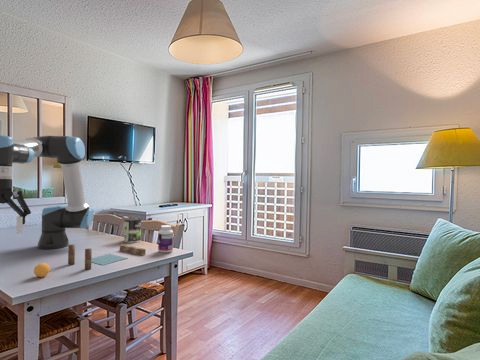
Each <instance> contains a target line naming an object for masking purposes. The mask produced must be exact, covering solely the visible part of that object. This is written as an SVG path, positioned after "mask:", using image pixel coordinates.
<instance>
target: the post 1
mask: <svg viewBox="0 0 480 360" xmlns="http://www.w3.org/2000/svg"><path fill="white" fill-rule="evenodd" d="M67 247H68V250H67V251H68V252H67V257H68V258H67V265H68V266H72V265H75V258H76V257H75V256H76V254H75V253H76V251H75V250H76V244H69V245H68V246H67Z"/></svg>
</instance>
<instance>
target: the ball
mask: <svg viewBox="0 0 480 360" xmlns="http://www.w3.org/2000/svg"><path fill="white" fill-rule="evenodd" d="M50 270H51V267H50V265H49V263H46V262H42V263H38V264H37V265H36V266H35V267H34V269H33V274H34V275H35V276H36V277H38V278H44V277H46V276H47V275H48V274H49V273H50Z"/></svg>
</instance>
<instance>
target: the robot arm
mask: <svg viewBox="0 0 480 360" xmlns="http://www.w3.org/2000/svg"><path fill="white" fill-rule="evenodd" d="M85 155H86V147H85V143H84V142H83V140H81V138H80V137H77V136H72V135H41V136H35V137H28V138H25V139H23V140H14V139H13V137H12V136H8V135H3V134H1V135H0V204H7V205H8V206H9V207H10V208H11V209H12V210H14V212H15V213H16V214H18V216H16V234H18V235H23V225H25V224H26V217H27V216H29V215H31V214H32V211H31V210H30V208H29V206H28V204H27V202H26V201H25V199H24V197H23V192H22V191H21V190H15V191H13V179H12V177H13V164H21V165H22V164H28V163H31V162H32V161H33V160H34V158H35V157H37V158H46V159H56V161H57V162H56V163H57V164H58V165H60V167H61V172H62V177H63V183H64V188H65V189H64V190H65V195H66V201H67V204H66V205H64V204H63V205H54V206H48V207H44V208H42V210H41V234H40V237H39V240H38V242H37V249H41V250H53V249H54V250H55V249H61V248H62V249H63V248H65V247H68V245H70V244H69V239H68V235H67V233H66V229H89V227H90V226H91V225H92V224H93V220H94V215H95V212H94V209H93V208H91V207H90V206H89V203H87V202H86V200H85V193H84V186H83V180H82V174H81V167H80V163H82V161H83V159H84V157H85ZM13 196H14V197H15V199H16V200H17V203H18V205H19V206H18V205H17V203H15V201H14V200H13V199H12V197H13Z"/></svg>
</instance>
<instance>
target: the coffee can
mask: <svg viewBox="0 0 480 360" xmlns="http://www.w3.org/2000/svg"><path fill="white" fill-rule="evenodd" d="M123 221H124V224H123V225H124V226H123V228H124V229H123V242H124V243H127V244H128V243H129V244H132V243H139V242H141V239H142V238H141V233H142V218H139V217H129V218H124V220H123Z"/></svg>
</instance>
